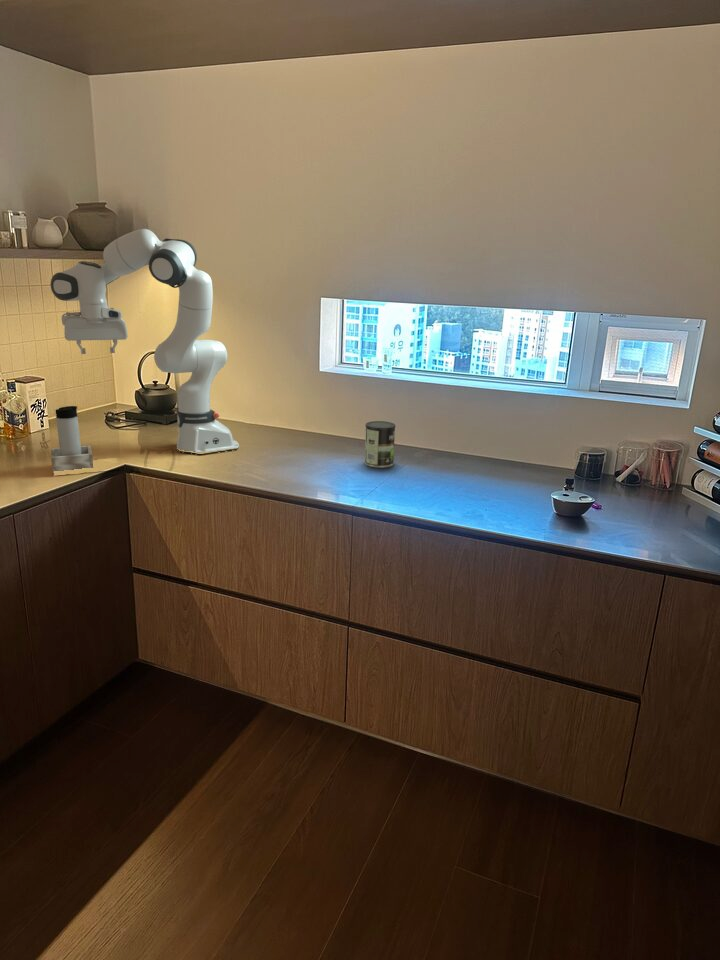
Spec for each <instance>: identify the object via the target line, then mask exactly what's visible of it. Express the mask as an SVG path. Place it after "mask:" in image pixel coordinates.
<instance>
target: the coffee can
mask: <svg viewBox="0 0 720 960" xmlns="http://www.w3.org/2000/svg"><path fill="white" fill-rule="evenodd" d="M395 435H396V424H395V423H393V422H391V421H390V422H389V421H385V420H384V421H383V420H374V421H368V422H366V423H365V438H364V439H365V442H364V443H365V445H364V447H365V448H364V465H365V466H367V467H371V468H379V469H380V468H382V469H383V468H390V467H392V466H394V465H395V464H394V461H395V460H394V459H395V458H394V456H395V455H394V454H395V439H396V438H395Z"/></svg>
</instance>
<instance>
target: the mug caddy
mask: <svg viewBox="0 0 720 960" xmlns="http://www.w3.org/2000/svg"><path fill="white" fill-rule="evenodd" d="M50 458H51V467H52V473H53V472H54V471H64V470H74V469H82V468H94V467H93V459H94V458H93V452H92V447H91V445H81V455H69V456H61V455H60V447H54V448H51V449H50Z"/></svg>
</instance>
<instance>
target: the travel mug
mask: <svg viewBox="0 0 720 960" xmlns="http://www.w3.org/2000/svg"><path fill="white" fill-rule="evenodd" d="M77 410H78V406H77V405H67V406H62V407H58V408H57V409H55V418H56V428H57V437H58V444H59V445H58V446H59V448H60V455H61V456H69V455H81V446H82V445H81V438H80V437H81V436H80V429H79V428H80V427H79V420H78V419H79V418H78V411H77Z"/></svg>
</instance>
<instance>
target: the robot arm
mask: <svg viewBox="0 0 720 960" xmlns="http://www.w3.org/2000/svg"><path fill="white" fill-rule="evenodd" d="M102 253H103V254H102V257H103V261H104V263H102V264H101V265H99V263H95V262H92V261H85V260H83V261H78V262H77V263H76V264H75V265H74V266H73V267H70V268H68V269H65V270H63V271H59V272H56V273H54V274H53V275H52V277H51V279H50V290H51V292H52V294H53V296H54V297H55V298H57V299H58V300H59V301H63V302H74V301H75V302H76V301H78V303H79V310H80V311H79V312H78V311H75V312H74V311H73V312H69V311H68V312H65V313H63V314H62V316H61V323H62V325H63V326H64V333H63V334H64V339H65V340H66V341H68V342H69V341H71V342H72V341H76V342H75V343H76V345H77V347H78V348H79V349H80V354H81V355H85V354H87V352H86V348H85V347H82V345H81V344H82V341H112V343H113V345H112V347H111V346H110V347H109V352H110V354H115V353H116V350H115V349H116V347H117V345H118V340H122V341H124V340H125V341H126V340H127V339H128V337H129V335H128V327H127V325H126V322H125V320H124V319H123V318H122V317H123V313H122V311H121V310H119V309H116V308H113V307H109V306H108V300H107V298H106V293H107V286H108V285H109V284H111V283H113V282H114V281H115V280H118V279H120V278H121V277H124V276H127V275H130V274H133V273H134V272H136V271H137V272H138V270H140V269H143V268H144V267H146V266H148V270H149V272H150V274H151V276H152V278H154V279H155V280H156V281H158V282H159V283H161V284H165V285H168V286H169V287H172V288H173V289H177V288H178V290H179V291H178V292H179V293H178V306H177V307H178V310H177V317H176V322H175V324H174V325H175V326H174V327H173V329H172V332H171V333H170V334H169V336H168V337H167V338H166V339H165V340H164V341H163V342H161V343H159V344H158V345H157V346H156V348H155V350H154V355H153V359H154V363H155V365H156V366H157V368H158V370H159V371H160V372H163V373H168V374H169V373H170V374H185V373H191V375H190V377H189V379H188V380H187V381H185V382H183V383H182V384H181V385H180V386H179V387H178V389H177V406H178V409H177V412H176V413H177V414H176V416H177V417H176V418H177V425H178V436H177V441H176V442H177V443H176V447H177V448H178V449H180V450H184V451H193V452H197V453H203V452H202V451H205V452H210V451H218V450H226V449H234V448H238V447H239V448H240V444H239V442H238V441H237V440H235V439H234V438H233V434H232V432H231V429H229V427H227V426H225V424H223V423H221V421H219V420H217V419H219V417H220V414H219V413H218V412H217V411H215V410H213V409H211V388H212V384H213V381H214V379H215V376H216V375H217V374H218V373H219V371H220V370H221V369H223V368H224V367H225V365H226V364H227V361H228V358H229V357H228V356H229V355H228V350H227V348H226V346H225V345H224V343H223V342H221V341H218V340H215V339H214V340H213V339H199V337H201V336H203V335H204V334H206V333H207V332H208V331H209V329H210V328H211V325H212V316H213V315H212V313H213V305H214V303H213V302H214V292H213V290H214V289H213V281H212V278H211V276H210V275H209V274H208V273H207V272H205V271H203V270H200V269H197V268H196V267H195V266H196V263H197V260H198V257H197V256H198V255H197V251H196V248H195V246H194V245H193V244H192V243H190V242H189V241H187V240H184V239H177V238H176V239H175V238H174V239H173V238H164V239H163V240H160V239H159V238H158V236H157V235H156V234H155V233H154V232H153V231H152V230H150V229H148V228H140V229H136V230H134V231H131V232H128V233H126V234H124V235H121V236H119V237H117V238H115V239H114V240H113V241H111V242H110V243H108V244H107V245H106V246H105V247H104V249H103V252H102Z"/></svg>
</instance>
